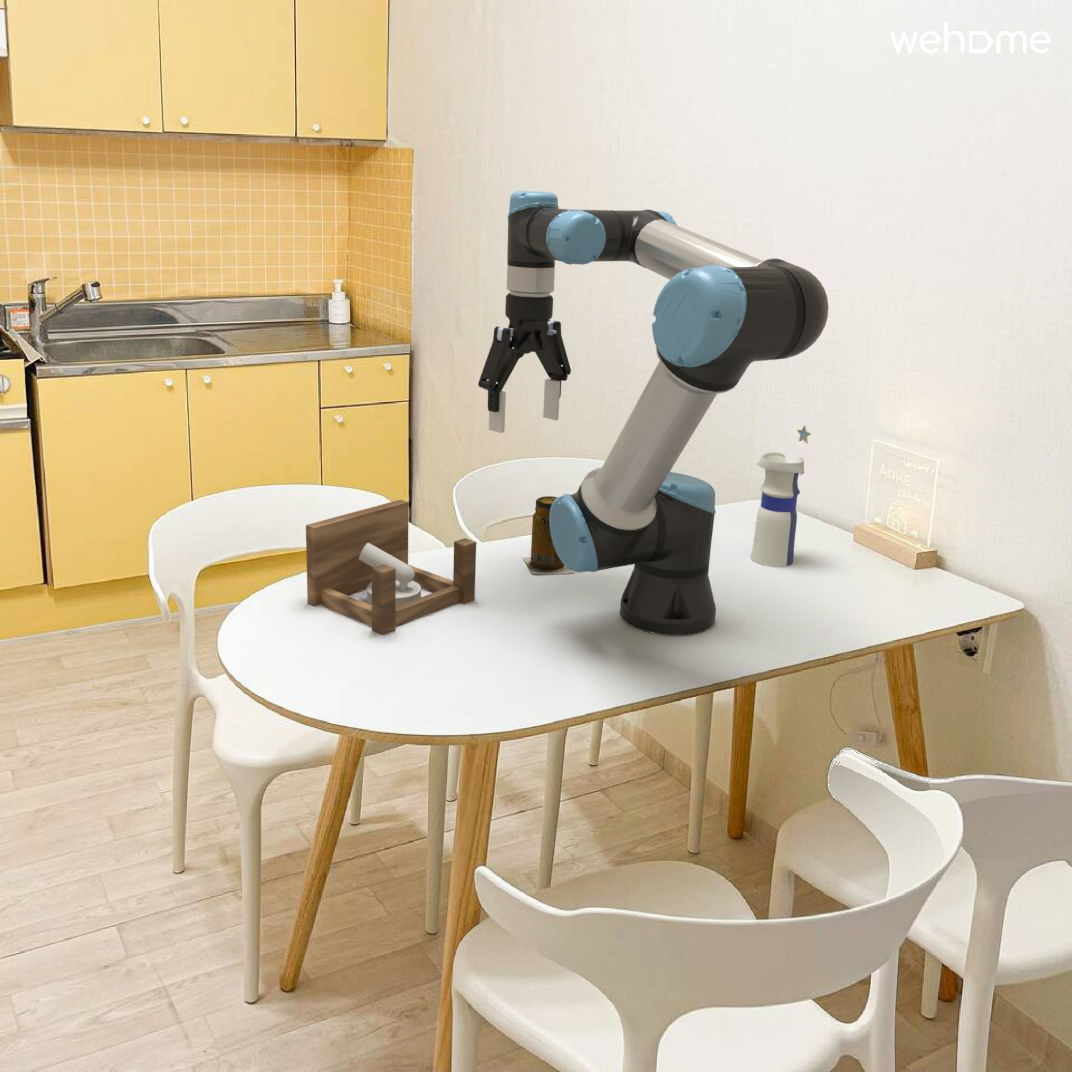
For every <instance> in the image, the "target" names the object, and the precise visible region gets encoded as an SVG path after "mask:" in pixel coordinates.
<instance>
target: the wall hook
mask: <svg viewBox="0 0 1072 1072" xmlns="http://www.w3.org/2000/svg"><path fill="white" fill-rule="evenodd" d="M359 560H361V561H363V562H364V563H366V564H368V565H370V566H372V567H373V568H374V567H377V566H380V565H383V564H385V565H388V566H390V567H393V568H396V606H398V605H401V604H404V603H406V602H409V601H412V600H415V599H417V598H420V597H422V588H421V586H420V585H419V584H418V583H416V582H414V581H412V580H413V578H414V576H415V573H414V570H413V569H412V567H410V566H409V565H410V564H408V565H407V564H406V563H404V562H402V561H400V560H398V559H397V558H395V557H393V556H391V555H390V554H388V553H386V552H384V551H382V550H381V549H379V548H377V547H375V546H373V545H372V544H370V543H367V544H366V545H365V547H364V548H363V550H362V552H361V554H360V556H359ZM366 603H367V604H369V605H372V583H370V584H369V585H368V586H367V589H366Z"/></svg>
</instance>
